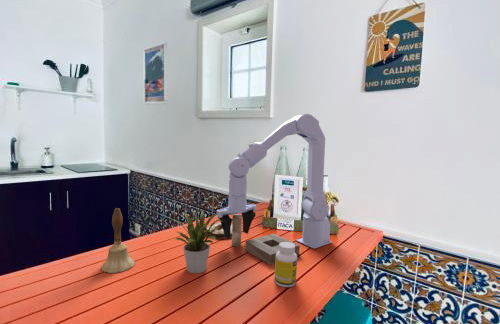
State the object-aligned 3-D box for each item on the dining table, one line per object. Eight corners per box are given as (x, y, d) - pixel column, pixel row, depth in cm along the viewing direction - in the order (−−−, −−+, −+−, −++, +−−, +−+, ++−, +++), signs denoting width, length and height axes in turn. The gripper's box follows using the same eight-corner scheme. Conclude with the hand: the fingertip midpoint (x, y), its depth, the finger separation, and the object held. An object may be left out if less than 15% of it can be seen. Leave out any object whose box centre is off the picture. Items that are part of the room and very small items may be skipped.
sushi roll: (193, 233, 103) (193, 222, 102) (223, 224, 114) (223, 214, 113) (220, 245, 93) (221, 233, 92) (250, 234, 104) (250, 223, 104)
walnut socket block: (273, 241, 96) (273, 233, 96) (299, 254, 86) (299, 245, 86) (245, 250, 89) (245, 240, 88) (270, 264, 79) (270, 254, 79)
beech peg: (237, 242, 95) (238, 213, 94) (242, 245, 92) (243, 215, 91) (230, 244, 93) (230, 215, 92) (235, 247, 90) (235, 217, 89)
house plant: (235, 262, 80) (236, 206, 78) (213, 286, 67) (215, 221, 65) (192, 253, 85) (192, 201, 83) (163, 275, 72) (163, 213, 70)
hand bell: (95, 266, 75) (93, 209, 74) (125, 256, 82) (124, 203, 80) (110, 276, 70) (109, 215, 69) (140, 265, 77) (140, 208, 75)
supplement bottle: (295, 289, 67) (297, 250, 66) (273, 286, 68) (274, 247, 67) (296, 278, 72) (298, 241, 71) (275, 275, 73) (277, 239, 72)
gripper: (248, 190, 98) (246, 227, 100) (212, 194, 90) (211, 235, 91) (260, 193, 93) (259, 233, 94) (223, 199, 84) (222, 242, 85)
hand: (236, 234), depth 92 cm, fingers open, 7 cm apart
